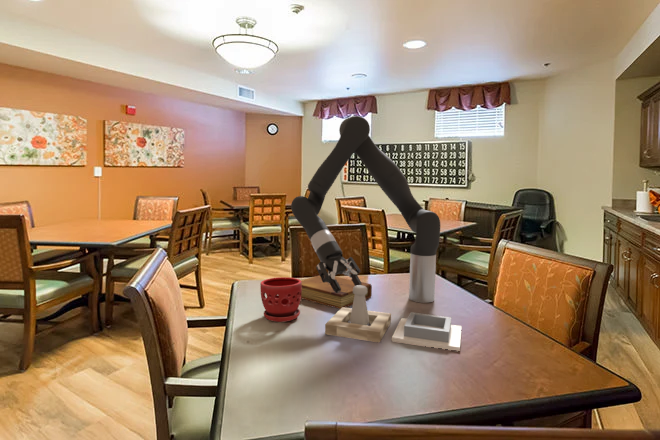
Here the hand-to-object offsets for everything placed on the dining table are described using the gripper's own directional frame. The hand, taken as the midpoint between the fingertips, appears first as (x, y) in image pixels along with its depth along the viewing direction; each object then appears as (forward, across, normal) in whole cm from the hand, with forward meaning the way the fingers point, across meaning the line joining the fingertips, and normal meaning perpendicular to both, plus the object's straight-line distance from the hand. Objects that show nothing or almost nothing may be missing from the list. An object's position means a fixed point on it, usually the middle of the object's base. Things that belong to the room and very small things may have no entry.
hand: (349, 289), depth 124 cm
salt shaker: (+11, 0, +5) cm, 12 cm away
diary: (-9, +14, +26) cm, 31 cm away
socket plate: (+22, +12, -7) cm, 26 cm away
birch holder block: (+11, 0, +4) cm, 12 cm away
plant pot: (-5, -13, +21) cm, 25 cm away
